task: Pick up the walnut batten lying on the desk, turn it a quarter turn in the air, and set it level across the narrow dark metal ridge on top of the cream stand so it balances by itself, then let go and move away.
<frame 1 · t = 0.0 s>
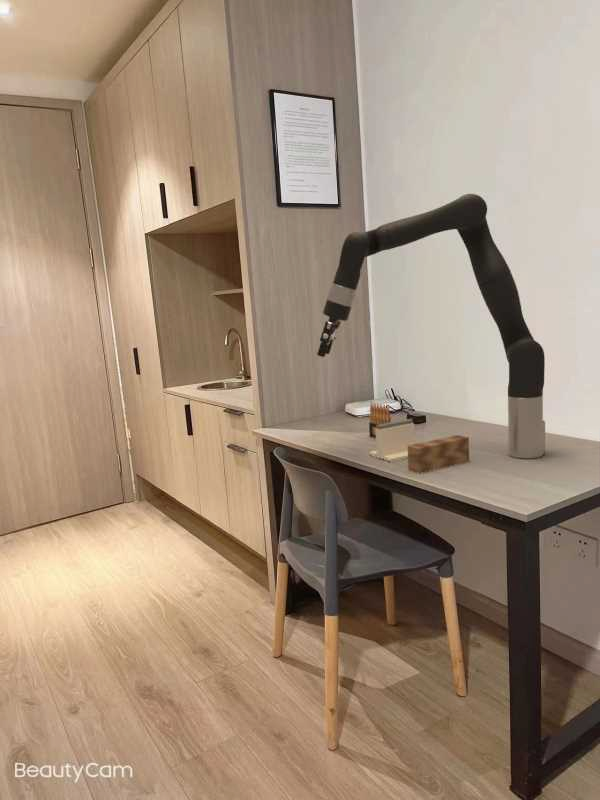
hand: (323, 354, 182), 31 cm above the table, tool tilted 20°, fingers open, 8 cm apart
ammunition clip: (381, 439, 207), on the table
walnut beam: (439, 466, 171), on the table
ridge stand: (396, 455, 185), on the table
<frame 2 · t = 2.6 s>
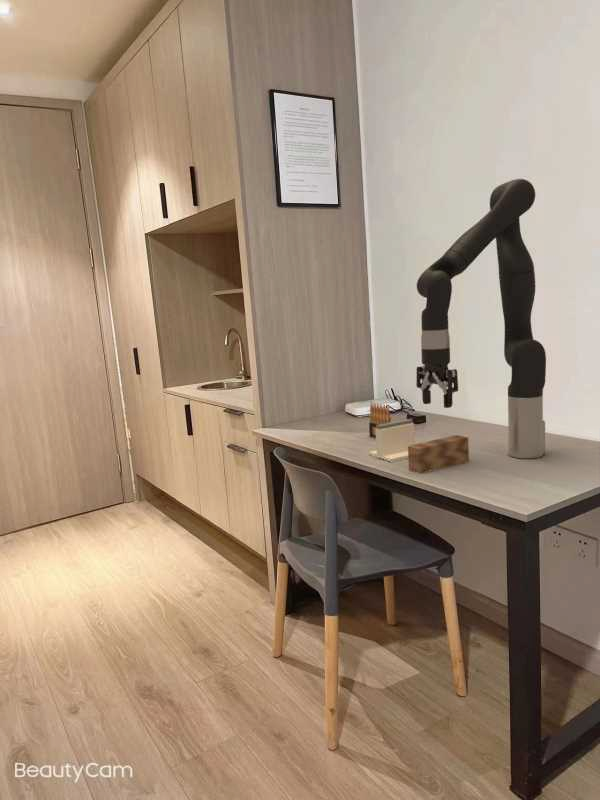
hand: (437, 405, 169), 17 cm above the table, tool pointing down, fingers open, 8 cm apart
nothing on the table moved.
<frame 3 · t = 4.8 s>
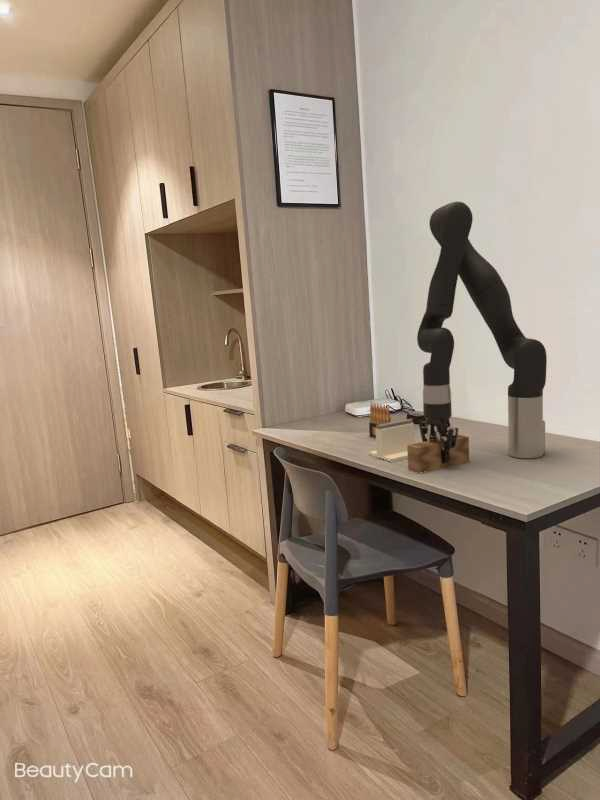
hand: (438, 460, 171), 1 cm above the table, tool pointing down, fingers closed on walnut beam, 4 cm apart
walnut beam: (439, 465, 171), on the table, touching gripper
everything else where it was.
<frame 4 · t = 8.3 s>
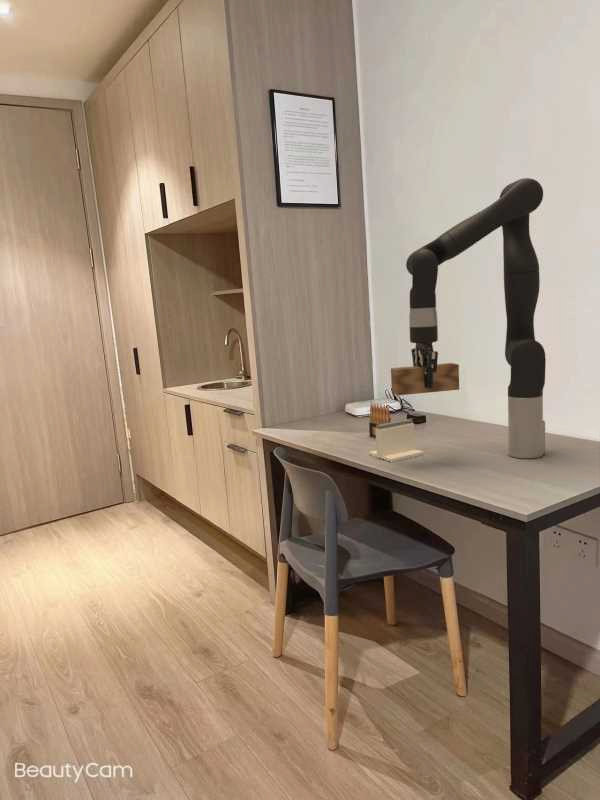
hand: (425, 386, 171), 22 cm above the table, tool pointing down, fingers closed on walnut beam, 4 cm apart
walnut beam: (425, 391, 171), point 21 cm above the table, touching gripper
everything else where it was.
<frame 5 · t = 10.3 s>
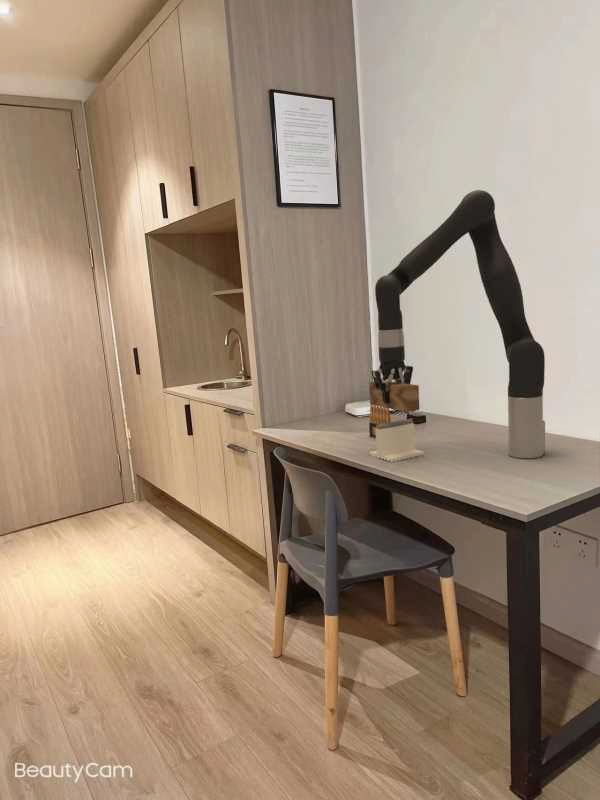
hand: (393, 402, 182), 16 cm above the table, tool pointing down, fingers closed on walnut beam, 4 cm apart
walnut beam: (393, 406, 183), point 15 cm above the table, touching gripper
everything else where it was.
when the fingers open (12 cm above the table, at t = 11.8 s): walnut beam stays where it is, resting on ridge stand.
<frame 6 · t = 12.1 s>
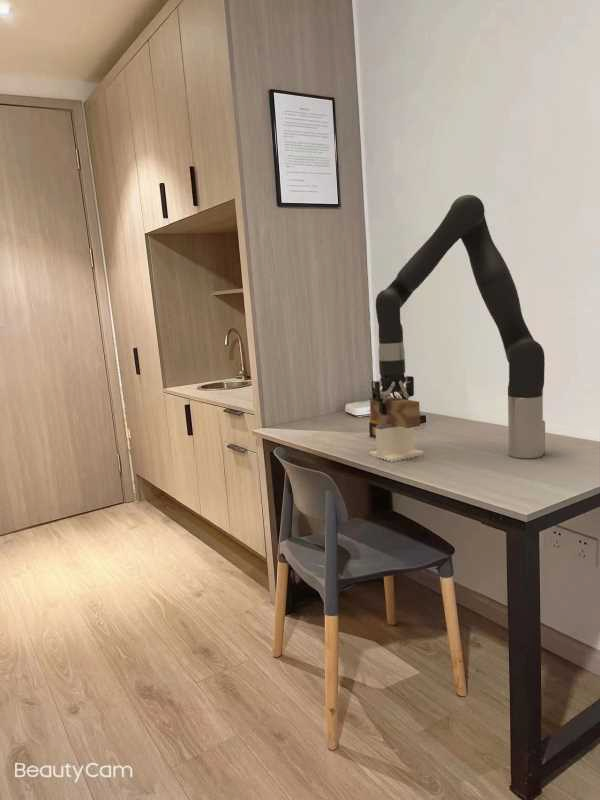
hand: (394, 413, 183), 13 cm above the table, tool pointing down, fingers open, 7 cm apart
walnut beam: (394, 422, 184), point 10 cm above the table, touching ridge stand
everything else where it was.
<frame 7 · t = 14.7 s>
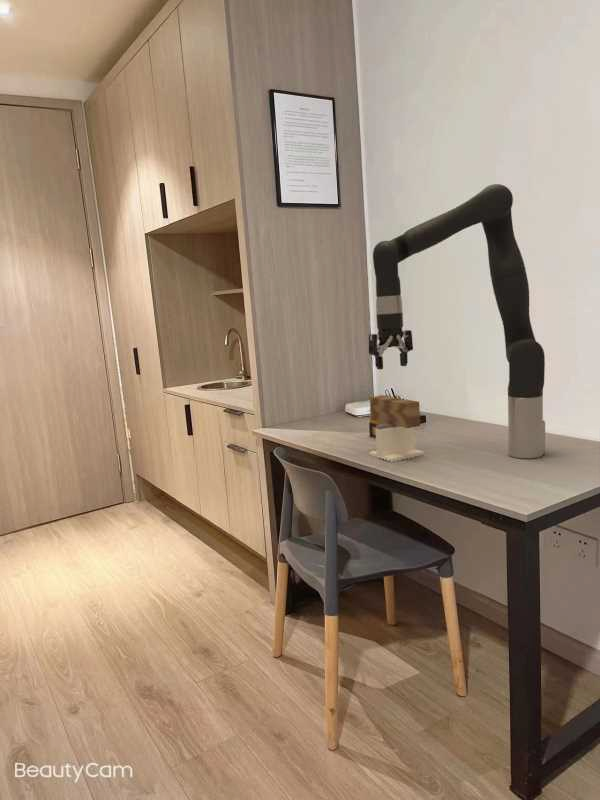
hand: (392, 367, 181), 27 cm above the table, tool pointing down, fingers open, 8 cm apart
nothing on the table moved.
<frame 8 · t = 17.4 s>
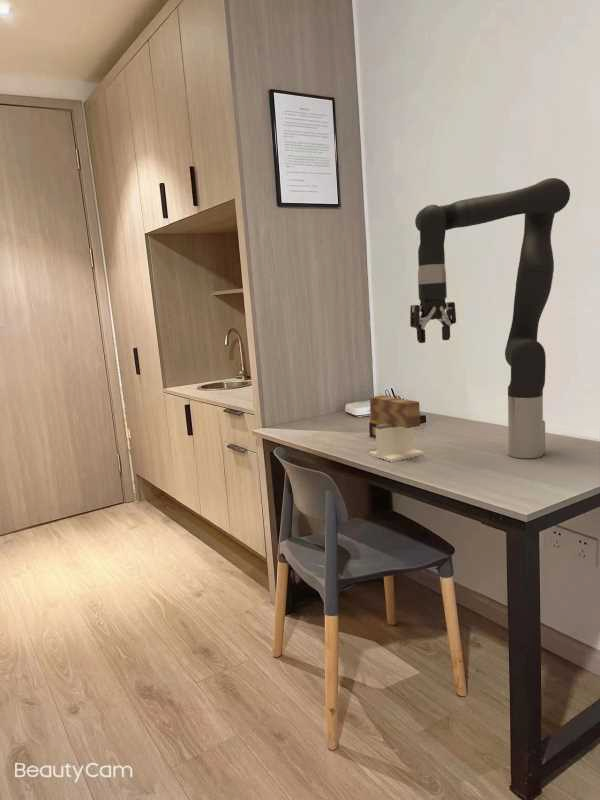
hand: (434, 341, 171), 34 cm above the table, tool pointing down, fingers open, 8 cm apart
nothing on the table moved.
at the end: walnut beam inside the target area on the ridge stand (0.0 cm from its centre), point 10.0 cm above the ridge stand's base; walnut beam tilted 0°; the gripper is holding nothing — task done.
